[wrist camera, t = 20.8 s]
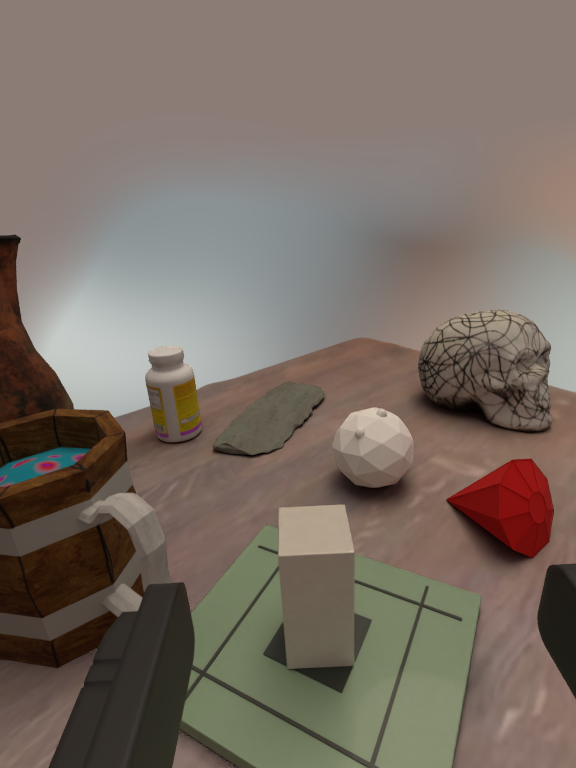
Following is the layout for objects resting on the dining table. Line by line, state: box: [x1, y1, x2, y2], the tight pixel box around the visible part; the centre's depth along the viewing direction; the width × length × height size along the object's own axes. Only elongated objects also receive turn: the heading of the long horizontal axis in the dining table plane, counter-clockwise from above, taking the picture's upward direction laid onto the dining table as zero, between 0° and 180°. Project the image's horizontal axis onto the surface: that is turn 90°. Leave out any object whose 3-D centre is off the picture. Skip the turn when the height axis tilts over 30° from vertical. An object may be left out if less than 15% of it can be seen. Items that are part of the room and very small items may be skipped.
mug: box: [0, 409, 171, 668], centre depth 34 cm, size 20×14×15 cm
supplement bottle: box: [145, 346, 202, 442], centre depth 63 cm, size 7×7×13 cm
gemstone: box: [446, 459, 554, 558], centre depth 44 cm, size 9×9×10 cm
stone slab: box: [212, 382, 325, 455], centre depth 68 cm, size 22×3×10 cm
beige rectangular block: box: [278, 504, 355, 669], centre depth 31 cm, size 5×5×10 cm
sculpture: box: [418, 310, 552, 432], centre depth 66 cm, size 15×20×15 cm
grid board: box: [180, 524, 481, 768], centre depth 33 cm, size 20×18×1 cm
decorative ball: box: [332, 407, 414, 488], centre depth 51 cm, size 9×11×12 cm
